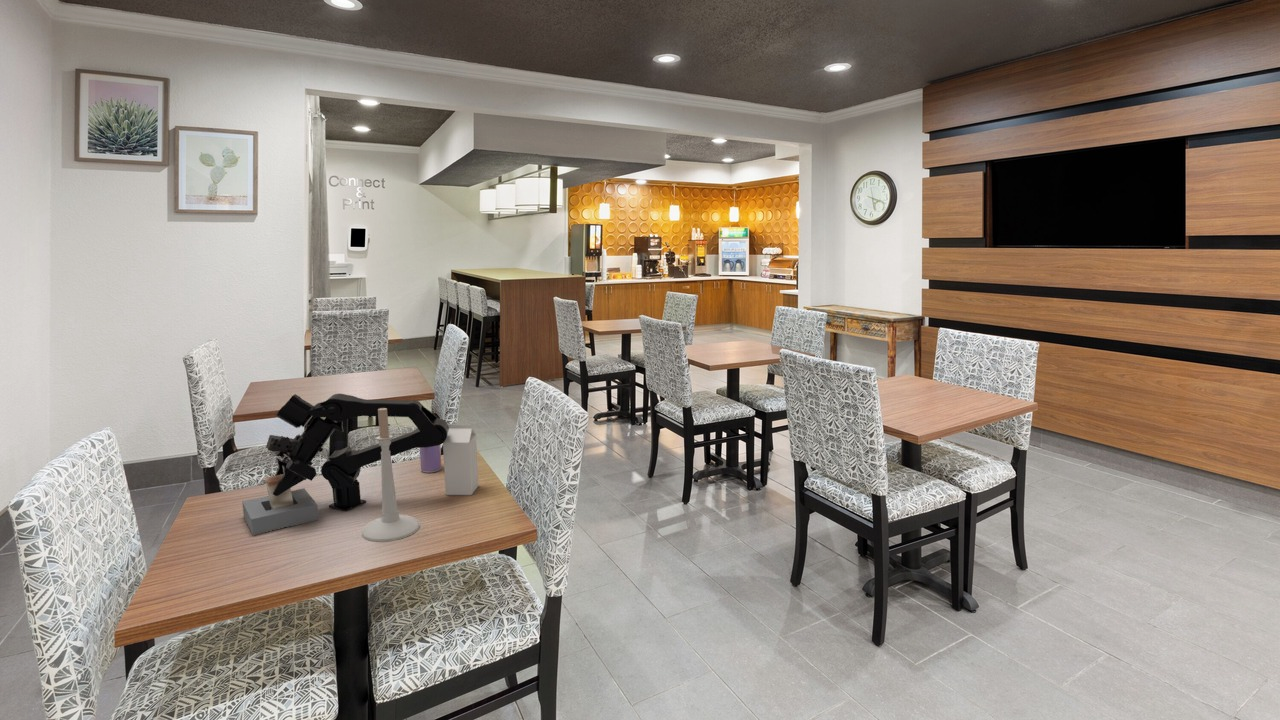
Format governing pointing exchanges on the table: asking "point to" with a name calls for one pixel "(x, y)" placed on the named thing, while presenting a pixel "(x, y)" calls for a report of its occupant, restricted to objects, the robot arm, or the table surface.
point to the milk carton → (460, 460)
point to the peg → (281, 499)
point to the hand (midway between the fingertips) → (272, 492)
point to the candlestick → (388, 496)
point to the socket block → (279, 512)
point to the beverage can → (430, 459)
